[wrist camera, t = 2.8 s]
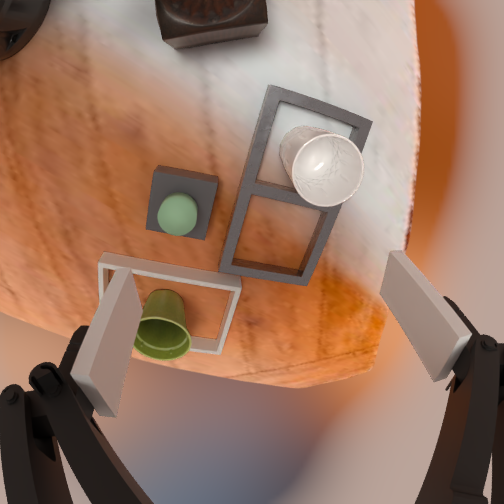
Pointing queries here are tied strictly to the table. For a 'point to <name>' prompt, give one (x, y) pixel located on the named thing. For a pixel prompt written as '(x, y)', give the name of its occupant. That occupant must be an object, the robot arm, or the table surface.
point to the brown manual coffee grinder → (209, 21)
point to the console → (184, 182)
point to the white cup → (322, 165)
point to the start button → (177, 214)
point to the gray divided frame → (283, 191)
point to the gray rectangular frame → (178, 275)
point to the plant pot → (163, 327)
